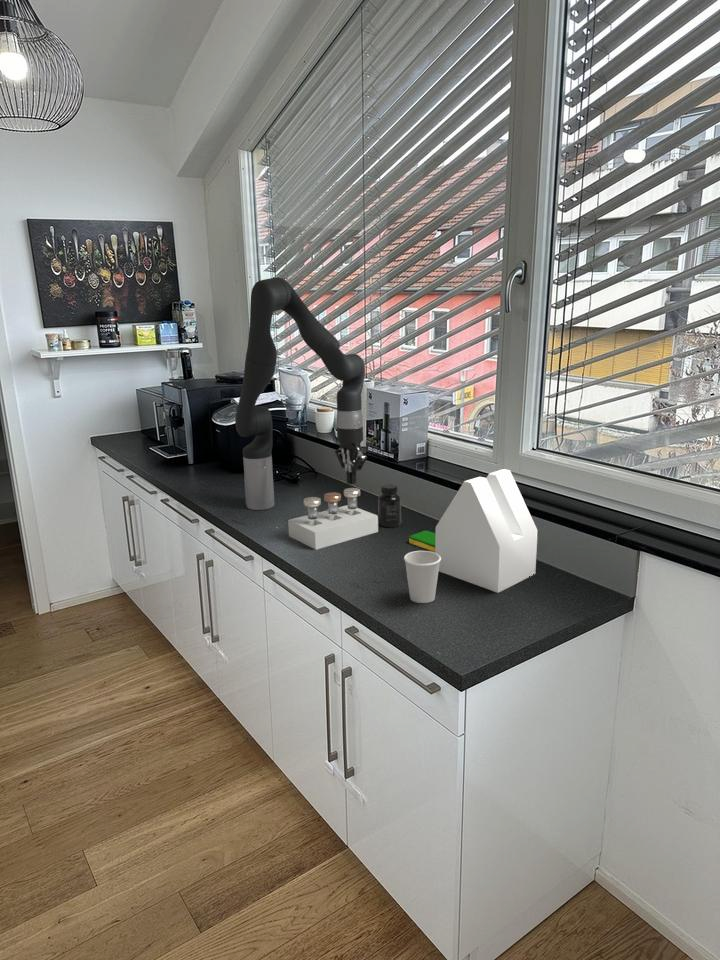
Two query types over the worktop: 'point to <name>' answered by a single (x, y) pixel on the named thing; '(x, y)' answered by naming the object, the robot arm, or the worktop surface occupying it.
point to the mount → (333, 527)
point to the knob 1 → (312, 506)
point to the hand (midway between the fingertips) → (351, 483)
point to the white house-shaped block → (488, 534)
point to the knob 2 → (352, 497)
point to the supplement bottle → (389, 506)
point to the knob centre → (332, 502)
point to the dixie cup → (422, 575)
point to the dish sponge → (424, 540)
